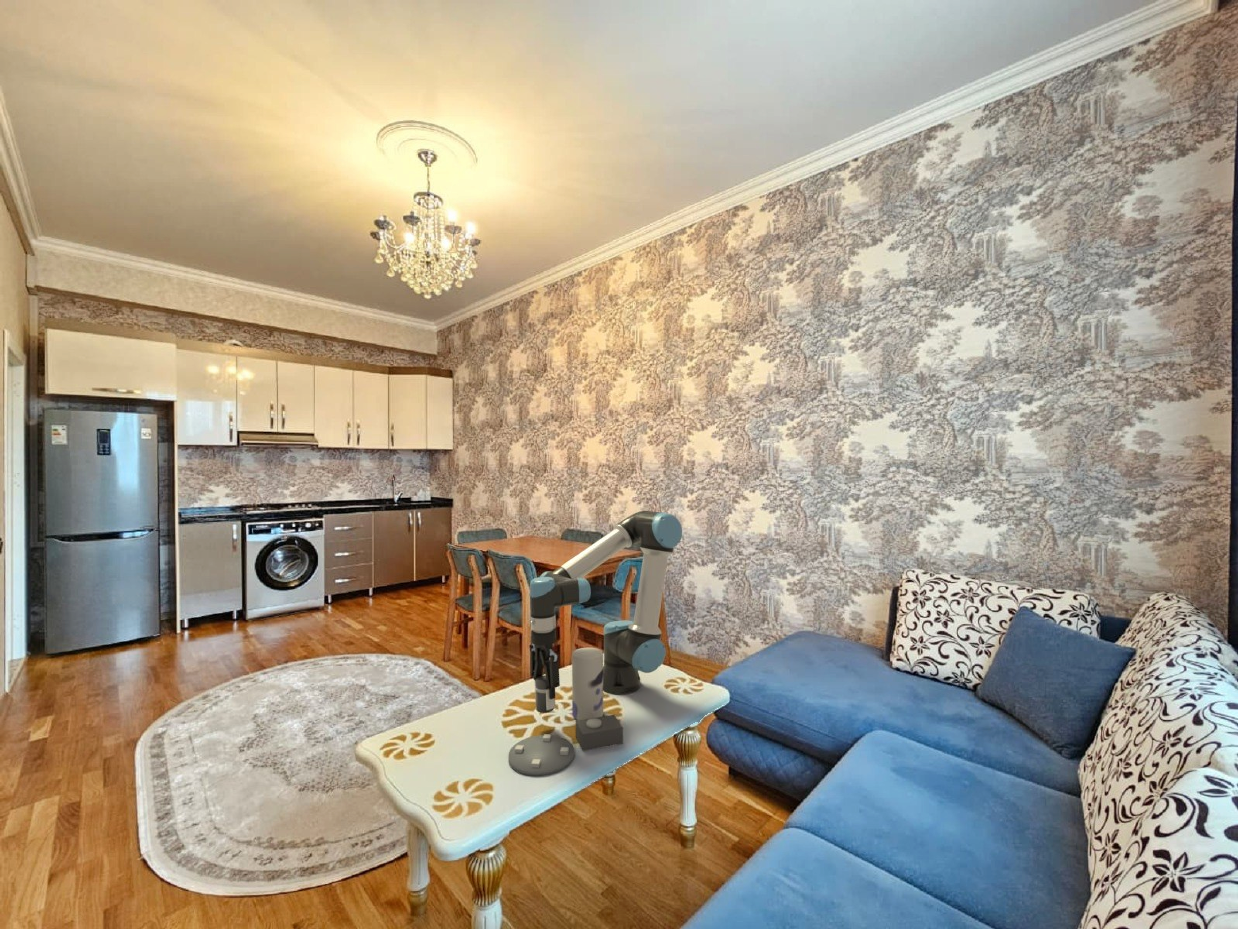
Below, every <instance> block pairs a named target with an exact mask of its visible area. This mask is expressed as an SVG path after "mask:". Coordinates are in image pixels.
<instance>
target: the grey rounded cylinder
mask: <svg viewBox="0 0 1238 929" xmlns="http://www.w3.org/2000/svg"><path fill="white" fill-rule="evenodd" d="M542 675H543V676H539V677H537V678H536V686H535V685H534V691H535V690H536V702H535V708H536V709H535V710H536V711H537V712H538V713H540V714H541V713H543V714H544V713H545V714H547V713H550V712H552V711H554V709H555V708H553V709H550V710H546V687H547V681H546V675H545V674H542Z"/></svg>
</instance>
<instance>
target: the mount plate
mask: <svg viewBox="0 0 1238 929" xmlns="http://www.w3.org/2000/svg"><path fill="white" fill-rule="evenodd" d="M574 759H575V747H574V745H573V743H572V742H571V740H569V739H567V738H565V737H562V736H560V735H554V734H549V733H547V734H546V733H544V734H539V735H533V736H529V737H526V738H524V739H522V740H519V741H518V742H516V743H515V744H514V745H513V746H512V747H511V748H510V750H509V752H508V764H509V766H510V768H511V769H512V770H513V771H515V772H516V773H519V774H521V775H525V776H530V777H531V776H532V777H533V776H534V777H543V776H548V775H553V774H556V773H558V772H561V771H562V770H564V769H566V768H567V767H568V766H570V765H571V763H572V762H573V761H574Z"/></svg>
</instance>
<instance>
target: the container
mask: <svg viewBox="0 0 1238 929" xmlns="http://www.w3.org/2000/svg"><path fill="white" fill-rule="evenodd" d="M571 660H572V661H571V662H572V663H571V668H572V669H571V676H572V677H571V678H572V679H571V681H572V684H571V687H572V688H571V689H572V693H571V694H572V697H571V699H572V705H571V706H572V708H571V711H572V712H571V713H572V717H573V718H574V719H575V720H576V721H579V720H585V719H591V718H597V717H603V715H604V691H603V666H604V650H602V649H599V648H596V647H581V648H576V649H575V650H573V651H572V653H571Z"/></svg>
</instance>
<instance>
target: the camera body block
mask: <svg viewBox="0 0 1238 929" xmlns="http://www.w3.org/2000/svg"><path fill="white" fill-rule="evenodd" d="M623 734H624V728H623V726H622V724H621V723H620V721H619V719H618V718H617V717H616V715H615V714H610V715H604V716H602V717H597V718H591V719H585V720H576V721H575V738H576V740H577V743H578V745H579V747H580V749H581V750H582V752H586V751H590V750H596V749H602V748H607V747H613V746H617V745H622V744H624V736H623Z"/></svg>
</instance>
